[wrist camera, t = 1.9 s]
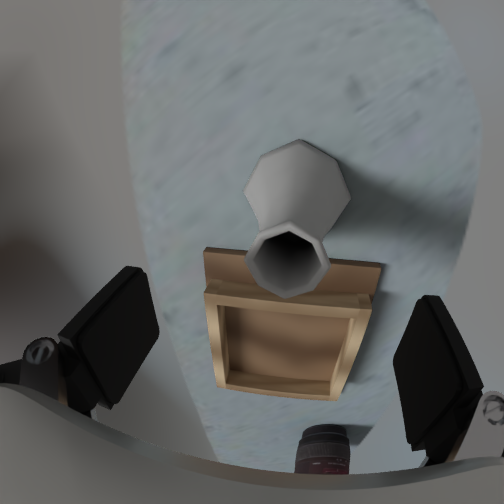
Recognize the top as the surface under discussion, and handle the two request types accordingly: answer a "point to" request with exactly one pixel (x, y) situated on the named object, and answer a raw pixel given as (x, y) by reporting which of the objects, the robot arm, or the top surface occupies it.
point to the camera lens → (323, 451)
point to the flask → (293, 217)
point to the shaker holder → (286, 328)
